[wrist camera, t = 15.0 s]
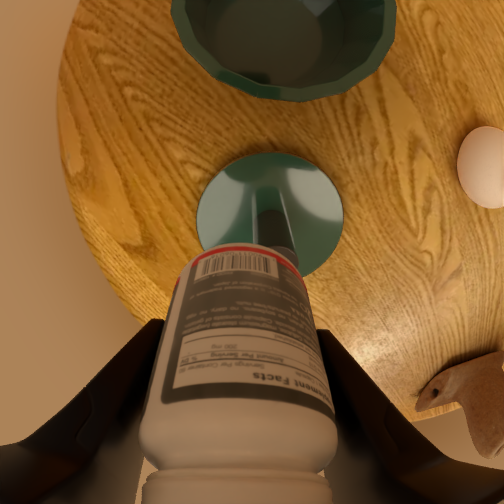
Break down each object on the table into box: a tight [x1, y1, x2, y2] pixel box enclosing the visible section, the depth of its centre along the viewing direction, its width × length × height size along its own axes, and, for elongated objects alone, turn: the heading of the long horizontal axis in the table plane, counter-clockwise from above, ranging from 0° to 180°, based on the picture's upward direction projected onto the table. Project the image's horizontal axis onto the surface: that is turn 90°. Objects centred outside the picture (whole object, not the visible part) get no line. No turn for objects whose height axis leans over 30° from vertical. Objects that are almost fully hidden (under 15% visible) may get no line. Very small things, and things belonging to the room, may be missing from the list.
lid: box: [196, 151, 344, 277], centre depth 19 cm, size 10×10×6 cm
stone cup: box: [415, 351, 504, 459], centre depth 27 cm, size 15×12×15 cm
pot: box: [171, 0, 397, 103], centre depth 11 cm, size 9×9×6 cm
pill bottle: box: [138, 243, 338, 504], centre depth 8 cm, size 5×5×8 cm
